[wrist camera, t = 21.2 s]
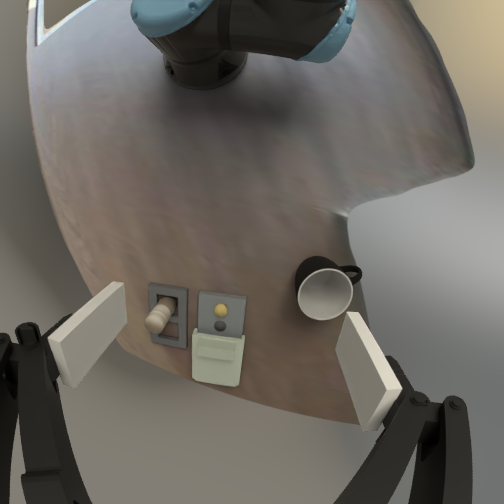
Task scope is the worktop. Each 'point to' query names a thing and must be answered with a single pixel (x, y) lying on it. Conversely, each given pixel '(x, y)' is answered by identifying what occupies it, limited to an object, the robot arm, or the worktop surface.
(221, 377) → the cover
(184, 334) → the socket board
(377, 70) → the worktop surface
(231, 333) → the board
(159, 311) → the pin
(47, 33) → the worktop surface
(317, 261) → the mug
